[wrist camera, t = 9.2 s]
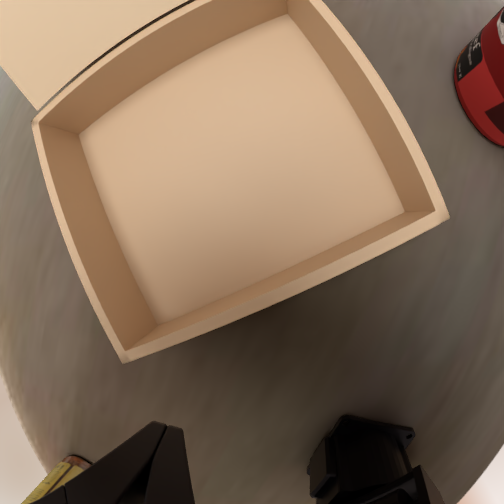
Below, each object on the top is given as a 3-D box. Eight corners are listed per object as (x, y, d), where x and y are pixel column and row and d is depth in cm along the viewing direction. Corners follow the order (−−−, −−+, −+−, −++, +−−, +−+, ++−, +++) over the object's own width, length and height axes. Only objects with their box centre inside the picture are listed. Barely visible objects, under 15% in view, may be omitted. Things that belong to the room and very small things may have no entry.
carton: (413, 216, 17) (450, 217, 12) (159, 333, 20) (122, 363, 15) (291, 10, 16) (287, -36, 11) (75, 134, 20) (30, 121, 15)
